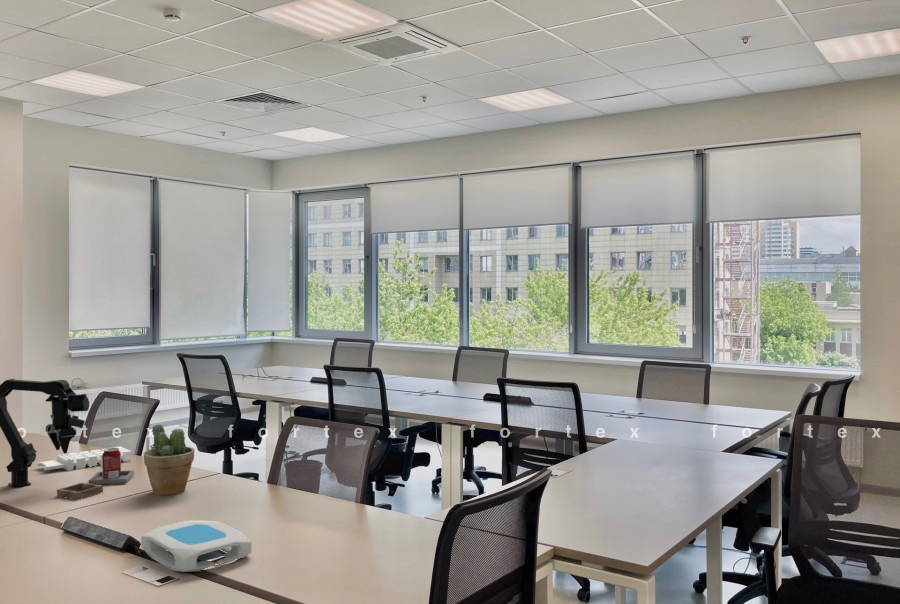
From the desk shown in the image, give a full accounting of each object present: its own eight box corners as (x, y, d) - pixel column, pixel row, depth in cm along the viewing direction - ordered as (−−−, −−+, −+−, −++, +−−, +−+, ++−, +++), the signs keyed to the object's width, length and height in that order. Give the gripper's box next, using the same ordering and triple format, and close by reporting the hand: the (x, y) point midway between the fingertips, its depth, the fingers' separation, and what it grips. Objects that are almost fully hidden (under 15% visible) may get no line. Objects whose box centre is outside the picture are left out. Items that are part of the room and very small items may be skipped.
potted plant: (203, 485, 288) (203, 422, 288) (181, 499, 270) (181, 431, 269) (158, 484, 290) (158, 421, 289) (133, 497, 271) (133, 430, 271)
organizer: (131, 451, 329) (45, 463, 305) (131, 461, 329) (45, 475, 305) (120, 446, 339) (36, 458, 314) (120, 456, 339) (36, 469, 314)
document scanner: (206, 535, 231) (206, 515, 231) (253, 558, 212) (253, 536, 212) (140, 551, 217) (140, 530, 216) (183, 578, 197) (183, 555, 197)
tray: (88, 485, 288) (88, 480, 287) (97, 476, 301) (97, 471, 301) (126, 483, 290) (126, 478, 290) (134, 475, 304) (134, 470, 304)
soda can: (120, 480, 294) (120, 450, 294) (102, 481, 291) (102, 451, 291) (120, 476, 300) (120, 447, 300) (102, 477, 298) (102, 448, 297)
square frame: (56, 496, 272) (56, 489, 272) (82, 489, 283) (82, 482, 283) (78, 499, 268) (78, 493, 268) (103, 492, 278) (103, 485, 278)
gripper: (89, 411, 288) (91, 451, 288) (74, 407, 301) (75, 445, 301) (58, 415, 280) (60, 456, 280) (44, 410, 293) (46, 449, 294)
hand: (61, 451), depth 289 cm, fingers open, 9 cm apart
